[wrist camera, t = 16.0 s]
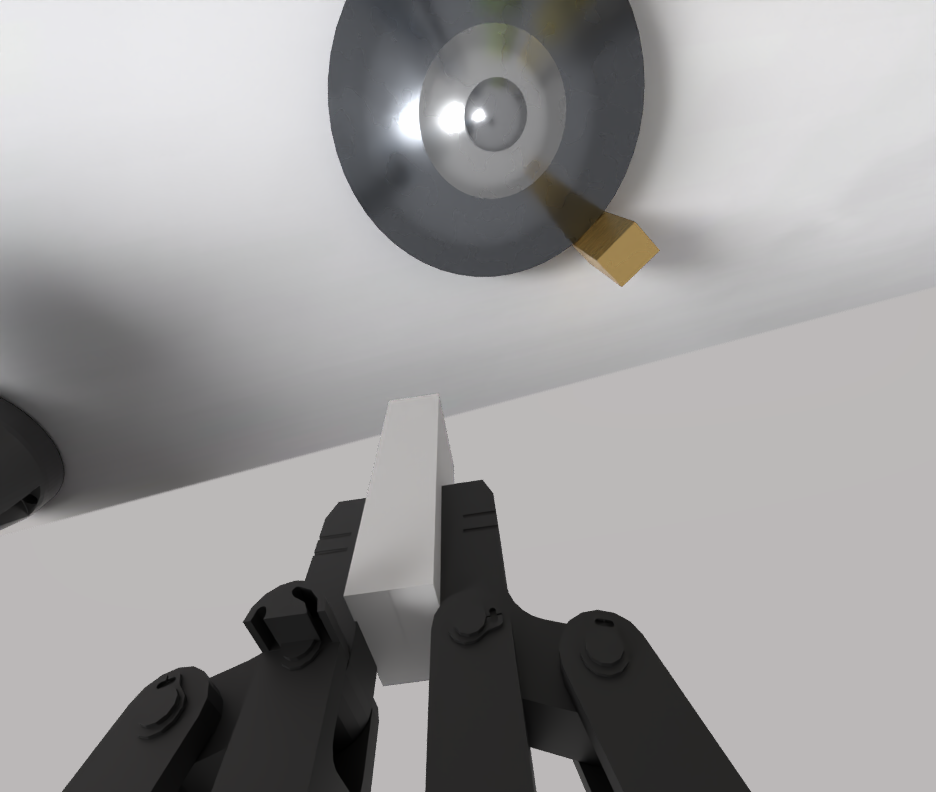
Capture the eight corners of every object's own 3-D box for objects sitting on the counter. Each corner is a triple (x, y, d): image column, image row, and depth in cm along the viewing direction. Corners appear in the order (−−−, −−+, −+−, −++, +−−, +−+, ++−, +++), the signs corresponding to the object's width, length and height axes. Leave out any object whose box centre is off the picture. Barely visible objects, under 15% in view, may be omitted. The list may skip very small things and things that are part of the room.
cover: (483, 218, 31) (493, 233, 25) (396, 124, 28) (384, 115, 22) (572, 123, 28) (605, 115, 22) (486, 8, 25) (499, -35, 19)
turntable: (514, 341, 37) (527, 377, 31) (274, 135, 29) (228, 129, 23) (715, 135, 30) (784, 130, 24) (475, -205, 22) (486, -342, 16)
